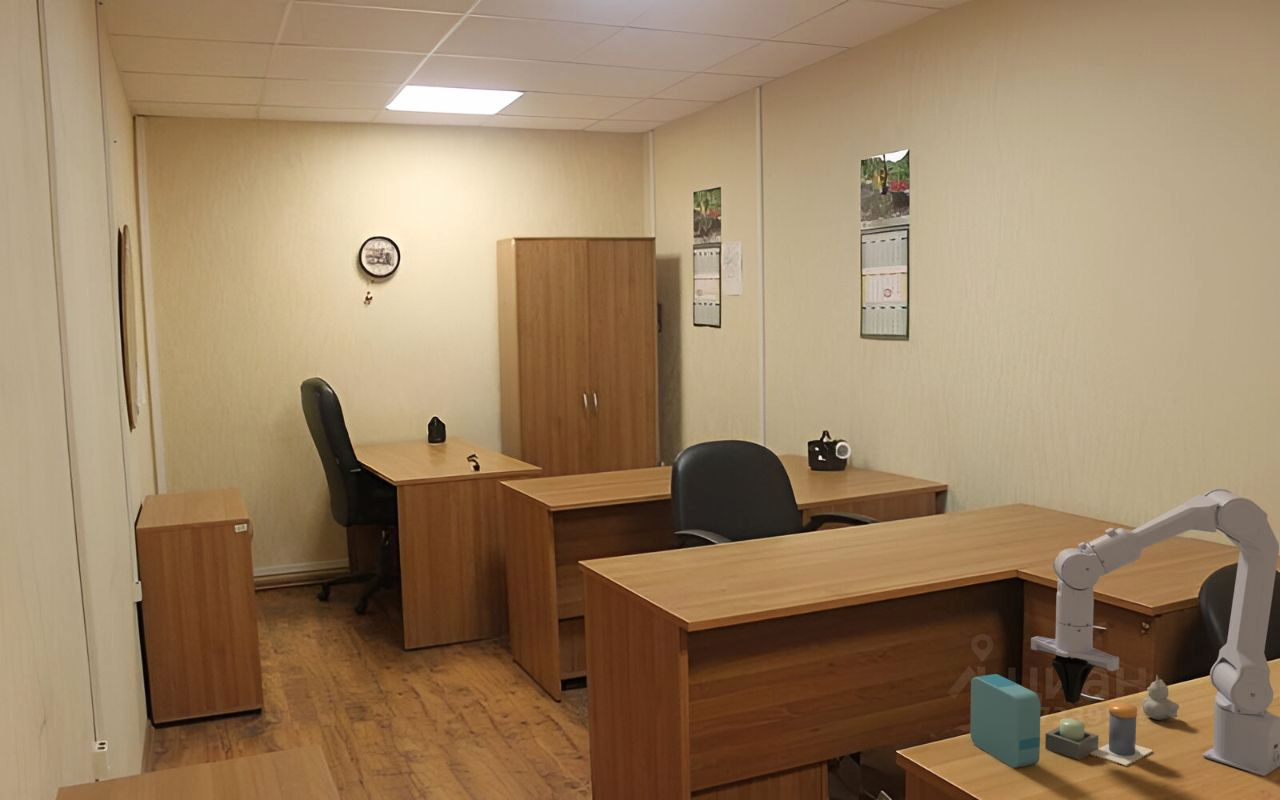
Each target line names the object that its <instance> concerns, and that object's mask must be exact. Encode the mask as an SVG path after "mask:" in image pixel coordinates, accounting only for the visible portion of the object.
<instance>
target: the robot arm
mask: <svg viewBox="0 0 1280 800" xmlns="http://www.w3.org/2000/svg"><path fill="white" fill-rule="evenodd" d="M1191 530H1193V531H1200V532H1207V533H1215V534H1216V533H1217V531H1220V532H1221V533H1223V534H1224V535H1225V536H1226V537H1227V538H1228V539H1229V540H1230V541H1231V543H1233V544H1234V546H1235V547H1237V548H1238V550H1239V554H1238V562H1237V567H1236V568H1237V570H1236V577H1235V582H1234V591H1233V596H1232V597H1233V598H1232V602H1231V603H1232V605H1231V613H1230V618H1229V626H1228V632H1227V633H1228V634H1227V640H1226V643H1225V644H1224V645H1223V646H1222V647H1221V648H1220V649H1219V652H1218V657H1217V660H1215V663H1214V664H1213V665H1212V667H1211V669H1210V672H1209V679H1210V682H1211V684H1212V686H1213V687H1214V688H1215V689H1216V695H1215V697H1214V710H1213V711H1214V715H1213V717H1214V718H1213V721H1214V722H1213V745H1212V748H1210V749H1208V750H1206V751H1205V752H1203V753H1202V757H1204V758H1206V759H1209V760H1213V761H1215V762H1217V763H1222V764H1225V765H1229V766H1231V767H1233V768H1234V767H1235V768H1238V769H1241V770H1243V771H1246V772H1247V771H1248V772H1250V773H1253V774H1256V775H1260V776H1264V777H1265V776H1267V775H1269V774H1270V773H1271V772H1273V771H1275V770H1276V769H1278V768H1279V767H1280V716H1278V715H1276V714H1274V713H1271V712H1270V711H1268V708H1269V707H1270V706H1271V704H1272V703H1273V700H1274V690H1273V687H1272V685H1271V682H1270V681H1271V680H1270V675H1271V670H1270V667H1269V664H1268V661H1267V660H1268V659H1267V658H1266V655H1265V651H1266V650H1265V648H1266V642H1267V641H1266V640H1267V634H1268V630H1269V629H1268V627H1269V621H1270V616H1271V615H1270V614H1271V608H1272V600H1273V595H1274V588H1275V587H1274V586H1275V580H1276V573H1277V566H1278V561H1279V560H1278V559H1279V552H1280V544H1279V541H1278V540H1277V537H1276V535H1275V533H1274V531H1273V529H1272V527H1271V525H1270V523H1269V521H1268V513H1266V511H1265V510H1264V509H1263V508H1261V507H1260V506H1258V504H1257V503H1255V502H1254V501H1253V500H1251V499H1249V498H1245V497H1242V496H1239V495H1236V494H1235V493H1233V492H1231V491H1229V490H1228V489H1223V488H1214V489H1211V490H1208V491H1207V492H1205V493H1204V494H1199V495H1196V496H1193V497H1191V498H1190V499H1188V500H1187V501H1185V502H1183V503H1182V504H1180V505H1178V506H1176V507H1174V508H1172V509H1171V510H1169V511H1166V512H1165V513H1163V514H1160V515H1159V516H1157V517H1155V518H1153V519H1152V520H1150V521H1148V522H1145V523H1143V524H1142V525H1140V526H1138V527H1136V528H1134V529H1132V530H1129V529H1126V528H1123V527H1118V528H1117V529H1115V528H1113V527H1109V528H1107V529H1105V530H1104V533H1105V534H1103V535H1101V536H1099V537H1097V538H1095V539H1092V540H1090V541H1088V542H1086V543H1085V542H1084V541H1082V542H1080V543H1078V544H1077V547H1078V548H1076V547H1075V548H1073V547H1070V548H1065V549H1063V550H1061V551H1060V552H1059V553H1058V554H1057V555H1058V556H1056V557H1055V560H1054V562H1052V568H1053V571H1054V572H1055V574H1056V575H1057V584H1056V585H1057V592H1056V599H1055V600H1056V602H1055V603H1056V605H1055V638H1049V637H1044V636H1039V635H1037V636H1034V637H1031V638H1030V650H1034V651H1042V652H1046V653H1048V654H1049V653H1050V654H1053V655H1055V658H1054V659H1053V658H1052V659H1051V665H1052V667H1053V668H1054V670H1055V672H1056V673H1057V674H1056V675H1057V676H1058V679H1059V681H1060V684H1061V686H1062V691H1063V695H1064V701H1065V702H1067V703H1070V704H1076V703H1078V702H1080V699H1081V695H1082V691H1083V689H1084V685H1085V684H1086V681H1087V679H1088V677H1089V675H1090V673H1091V672H1092V671H1093V669H1094V667H1095V666H1097V667H1101V668H1103V669H1104V668H1105V669H1106V670H1107V671H1110V672H1114V671H1117V670H1119V668H1120V657H1119V656H1115V655H1112V654H1109V653H1107V652H1104V651H1102V650H1099V649H1097V648H1095V647H1093V638H1094V637H1093V636H1094V635H1093V634H1094V605H1095V604H1094V603H1095V597H1094V586H1095V585H1096V584H1097V583H1098V581H1099V580H1100V577H1101V576H1102V577H1103V576H1104V575H1107V574H1109V573H1112V572H1114V571H1116V570H1118V569H1120V568H1123V567H1125V566H1127V565H1129V564H1131V563H1134V562H1135V561H1138V560H1139V559H1140V558H1141V555H1142V552H1143V550H1144V549H1146V548H1149V547H1151V546H1154V545H1156V544H1158V543H1161V542H1164V541H1167V540H1168V539H1172V538H1173V537H1176V536H1178V535H1181V534H1182V533H1187V532H1189V531H1191Z"/></svg>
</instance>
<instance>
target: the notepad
mask: <svg viewBox="0 0 1280 800" xmlns="http://www.w3.org/2000/svg"><path fill="white" fill-rule="evenodd" d="M1151 752H1152V753H1154V750H1153V749H1150V748H1147V747H1144V746H1141V745H1137V744H1136V745H1135V754H1134V755H1132V756H1122V755H1117V754H1114V753H1112V752H1111V751H1110V750H1109V743H1106V744H1105V745H1103V746H1101V747H1098V749H1097V750H1095V751H1093V752H1091V753H1090V755H1091V756H1093V755H1094V756H1093V757H1096V756H1097V758H1099V757H1100V758H1099V759H1102V758H1103V759H1102V760H1105V759H1107V760H1106V761H1108V760H1110V761H1109V762H1111V761H1113V762H1112V763H1114V762H1116V763H1119V764H1122V765H1125V766H1126V765H1128V766H1130V765H1131V764H1130V763H1132V762H1134V761H1135V762H1137V761H1139V760H1141V759H1143V758H1144V756H1145V757H1146V755H1147V754H1148V755H1150V754H1152V753H1151ZM1149 753H1150V754H1149ZM1090 755H1089V756H1090ZM1148 755H1147V756H1148ZM1142 757H1143V758H1142ZM1140 758H1141V759H1140ZM1138 759H1139V760H1138ZM1136 760H1137V761H1136ZM1135 762H1134V763H1135ZM1116 763H1115V764H1116ZM1119 764H1118V765H1119ZM1129 764H1130V765H1129ZM1132 764H1133V763H1132ZM1122 765H1121V766H1122ZM1125 766H1124V767H1125ZM1126 767H1127V766H1126Z"/></svg>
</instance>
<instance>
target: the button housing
mask: <svg viewBox="0 0 1280 800" xmlns="http://www.w3.org/2000/svg"><path fill="white" fill-rule="evenodd" d="M1045 749H1046V750H1049V751H1051V752H1055V753H1058V754H1060V755H1064V756H1065V757H1069V758H1071V759H1073V760H1074V759H1075V760H1077V761H1081V760H1082V759H1084V758H1085V757H1086V758H1087V757H1088V756H1090V753H1091V752H1093V751H1095V750H1097V749H1099V734H1094V733H1092V732H1089V731H1086V730H1084V739H1082V740H1080V741H1078V742H1076V741H1073V740H1070V739H1067V738H1064V737H1061V736H1060V726H1058V727H1056V728H1054V729H1052V730H1050V731H1048V732H1046V733H1045Z"/></svg>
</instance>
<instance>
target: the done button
mask: <svg viewBox="0 0 1280 800" xmlns="http://www.w3.org/2000/svg"><path fill="white" fill-rule="evenodd" d="M1085 725H1086V724H1085V722H1083V721H1081V720H1079V719H1076V718H1067V717H1066V718H1061V719H1060V721H1059V727H1060V736H1061V737H1064V738H1067V739H1070V740H1073V741H1076V742H1078V741H1080V740H1082V739H1084V731H1085V728H1086V727H1085Z"/></svg>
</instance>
